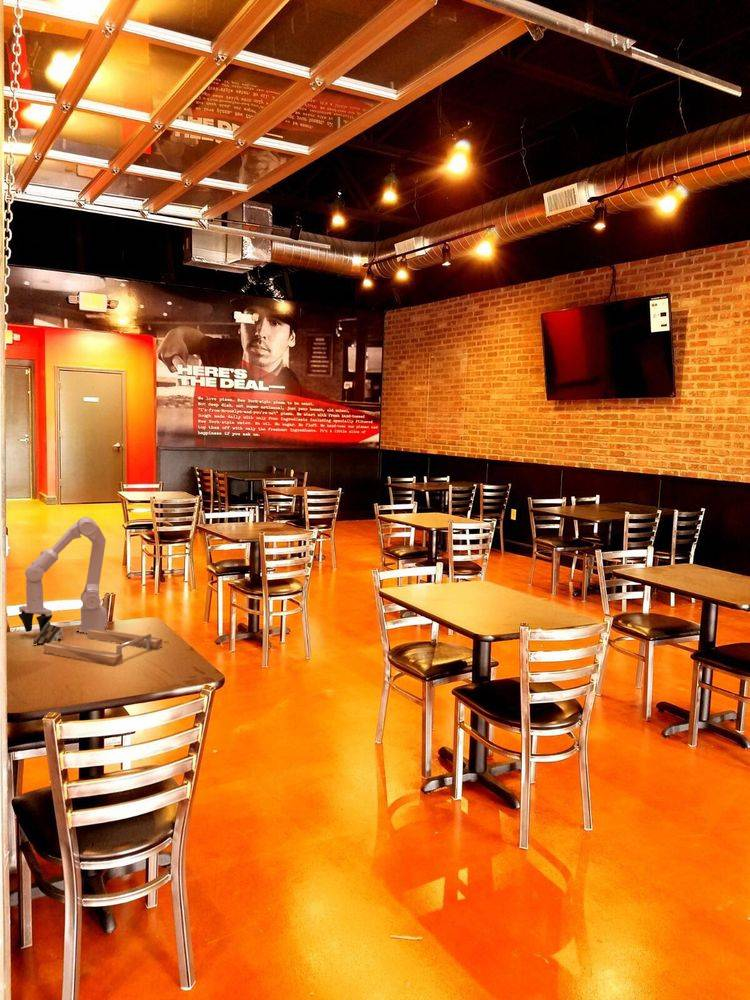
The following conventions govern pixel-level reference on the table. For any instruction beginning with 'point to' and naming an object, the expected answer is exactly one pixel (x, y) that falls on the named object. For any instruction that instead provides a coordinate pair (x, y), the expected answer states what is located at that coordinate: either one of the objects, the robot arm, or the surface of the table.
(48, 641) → the chocolate cake
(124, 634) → the shelf board
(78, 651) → the shelf board
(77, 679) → the table surface
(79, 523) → the robot arm
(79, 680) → the table surface
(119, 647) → the hook bar
